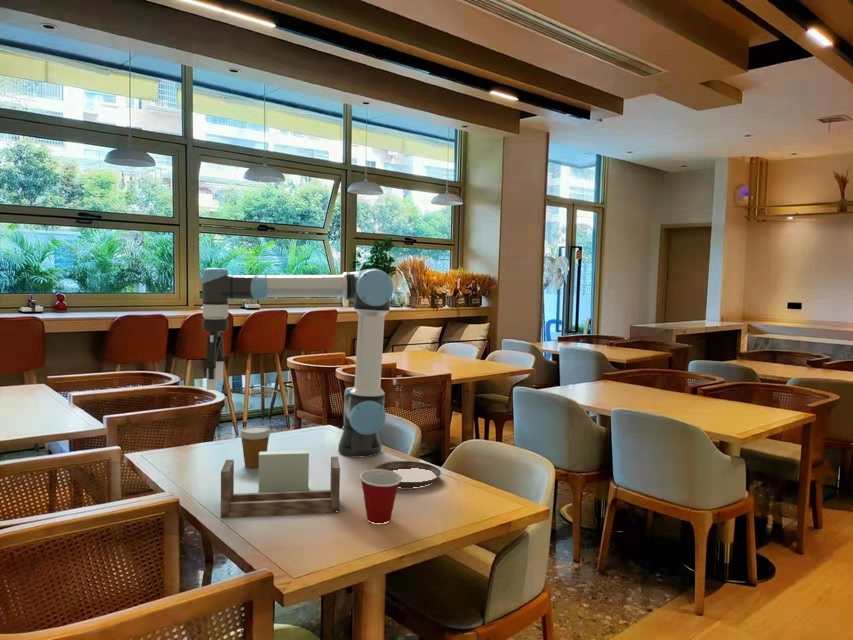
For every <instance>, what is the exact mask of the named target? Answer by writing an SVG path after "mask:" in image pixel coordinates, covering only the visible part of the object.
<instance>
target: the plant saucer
mask: <svg viewBox="0 0 853 640" xmlns="http://www.w3.org/2000/svg"><path fill="white" fill-rule="evenodd" d="M411 468H419V469H425V470H430V471H432V472H433V473H434V474H435V475H436V476H437V477H436V478H434V479H432V480H428V481H422V482H400V483H399V486H398V487H401V488H413V487H420V486H425V485H428V484H431V483H433V484H434V483H435V482H437V480H439V478H440V476H441V474H442V472H441V469H439V468H438V467H436V466H434V465H433V464H429V463H425V462H421V461H412V460H398V461H396V460H395V461H390V462H389V461H388V462H384V463H382V464H379V465H377V466H376V467H375V468H374V469H382V470H389V471H393V470H398V469H411Z"/></svg>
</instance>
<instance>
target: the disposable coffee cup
mask: <svg viewBox="0 0 853 640" xmlns="http://www.w3.org/2000/svg"><path fill="white" fill-rule="evenodd" d="M239 436H240V437H241V446H242V454H243V460H244V462H243V463H244V467H245V468H246V469H250V468H251V470H252V469H253V470H254V469H259V452H268V445H269V439H270V438H269V437H270V436H271V431H270V428H269V427H267V426H262V425H261V426H260V425H255V426H254V425H252V426H246V427H243V428H241V431H240V433H239Z"/></svg>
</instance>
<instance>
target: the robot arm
mask: <svg viewBox="0 0 853 640" xmlns="http://www.w3.org/2000/svg"><path fill="white" fill-rule="evenodd" d="M201 284H202V285H201V286H202V287H201V288H202V289H201V290H202V291H201V293H202V306H201V307H200V310H201V311H202V317H203V319H202V331H204V332H209V335H207V337H206V339H207V342H206V343H207V344H206V356H205V357H206V358H205V365H203V368H204V370H205V369H206V390H207V391H216V390H217V389H218V387H217V386H218V384H217V383H223V382H224V362H226V360H227V359H226V357H225V351H224V349H225V348H224V337H223V336H224V333H223V332H227V331H228V330H229V319H228V317H229V300H255V301H260V300H266V299H267V298H342V299H343V300H345V301H347V300H348V301H350V300H351V301H354V308H353V310H354V311H355V312H356V313H357V314H358V317H357V319H358V320H357V337H356V353H355V354H356V355H355V369H354V370H355V373H354V374H355V375H354V386H352V387H346V388H345V390H344V395H343V398H344V400H343V401H344V402H343V403H344V404H343V410H344V411H343V432H342V435H341V437H340V440H339V443H338V448H337V449H338V453H339V452H340V453H341V454H340V453H339V454H340V455H343V456H346V455H348V456H347V457H351V456H368V457H371V456H370V455H373V456H375V455H374V454H377V453H379V452H380V451H381V452H382V443H381V440H380V437H379V433H378V432H379V431H380V430H381V429H383V427H384V425H385V422H386V419H387V414H386V410H385V394H386V393H385V391H384V390H383V388H381V385H382V382H381V381H382V365H383V350H384V349H383V348H384V347H383V346H384V329H385V316H386V315H387V314H388V313H389V312H390V307H391V298H392V297H393V293H394V284H393V281H392V279H391V277H390V276H389V274H388V273H386V272H385V271H384V270H381V269H380V268H366V269H362V270H356V271H344V272H343V273H342V274H304V275H303V274H266V275H265V274H246V275H243V274H242V275H241V274H240V275H233V274H229V270H228V269H227V268H217V267H216V268H215V267H214V268H213V267H212V268H211V267H210V268H204V270H203V271H202V283H201ZM381 452H380V453H381ZM380 453H379V454H380ZM377 455H378V454H377Z"/></svg>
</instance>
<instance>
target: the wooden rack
mask: <svg viewBox="0 0 853 640" xmlns="http://www.w3.org/2000/svg"><path fill="white" fill-rule="evenodd" d="M234 461H235V460H234V459H226V460H225V462H224V463H223V466H222V469H221V471H220V518H239V517H240V518H241V517H242V518H243V517H245V518H246V517H263V516H265V517H266V515H268V516H284V515H285V516H286V515H287V516H288V515H308V514H309V515H310V513H311V514H324V513H323V512H333V513H337V512H336V511H339V512H340V490H341V489H340V488H341V487H340V484H341V483H340V481H341V478H340V477H341V466H340V460H339V456H330V488H329V489H324V490H323V489H319V490H316V489H315V490H304V491H279V492H247V493H245V492H244V493H241V492H240V493H239V492H238V493H235V491H234V490H235V489H234V487H235V485H234V484H235V481H234V480H235V479H234V478H235V477H234V476H235V470H234V467H235V462H234Z"/></svg>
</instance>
